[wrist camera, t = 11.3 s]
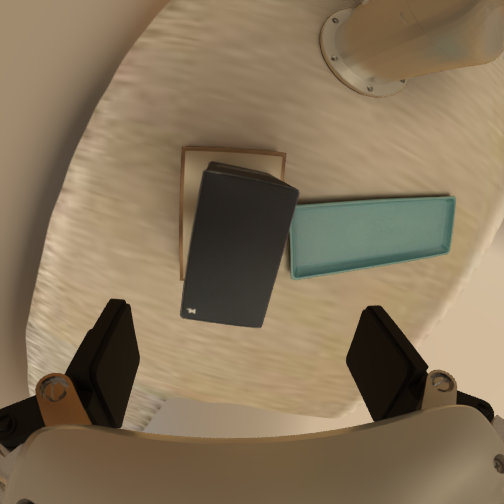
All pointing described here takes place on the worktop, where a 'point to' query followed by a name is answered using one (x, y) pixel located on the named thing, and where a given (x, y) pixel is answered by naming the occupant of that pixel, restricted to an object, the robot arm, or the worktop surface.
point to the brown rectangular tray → (191, 175)
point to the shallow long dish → (368, 234)
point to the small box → (236, 245)
